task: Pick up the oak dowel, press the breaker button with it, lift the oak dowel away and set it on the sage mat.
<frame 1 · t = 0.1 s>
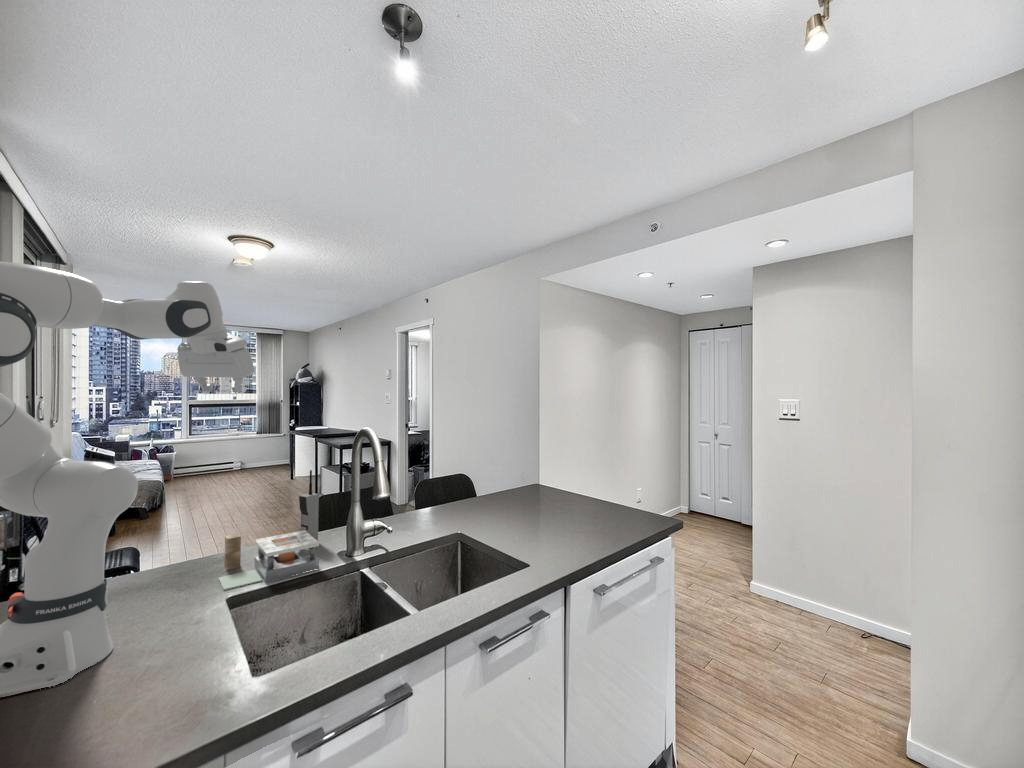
hand: (222, 391, 125), 52 cm above the counter, tool tilted 20°, fingers open, 8 cm apart
breaker button: (286, 552, 133), point 5 cm above the counter, slide at 0.0 cm
grey box with top: (286, 568, 133), on the counter
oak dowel: (232, 566, 133), on the counter
vintage mobile phone: (308, 544, 153), on the counter
sage mat: (240, 580, 124), on the counter
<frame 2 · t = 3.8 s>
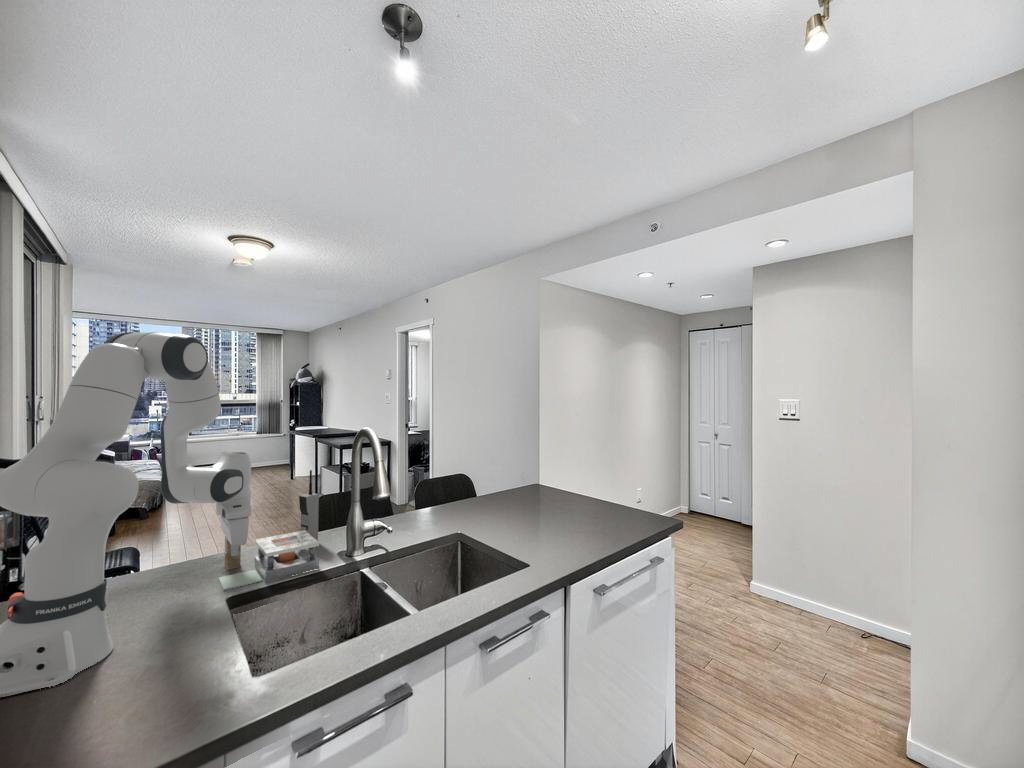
hand: (232, 552, 133), 4 cm above the counter, tool pointing down, fingers closed on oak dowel, 3 cm apart
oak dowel: (232, 566, 133), on the counter, touching gripper
everything else where it was.
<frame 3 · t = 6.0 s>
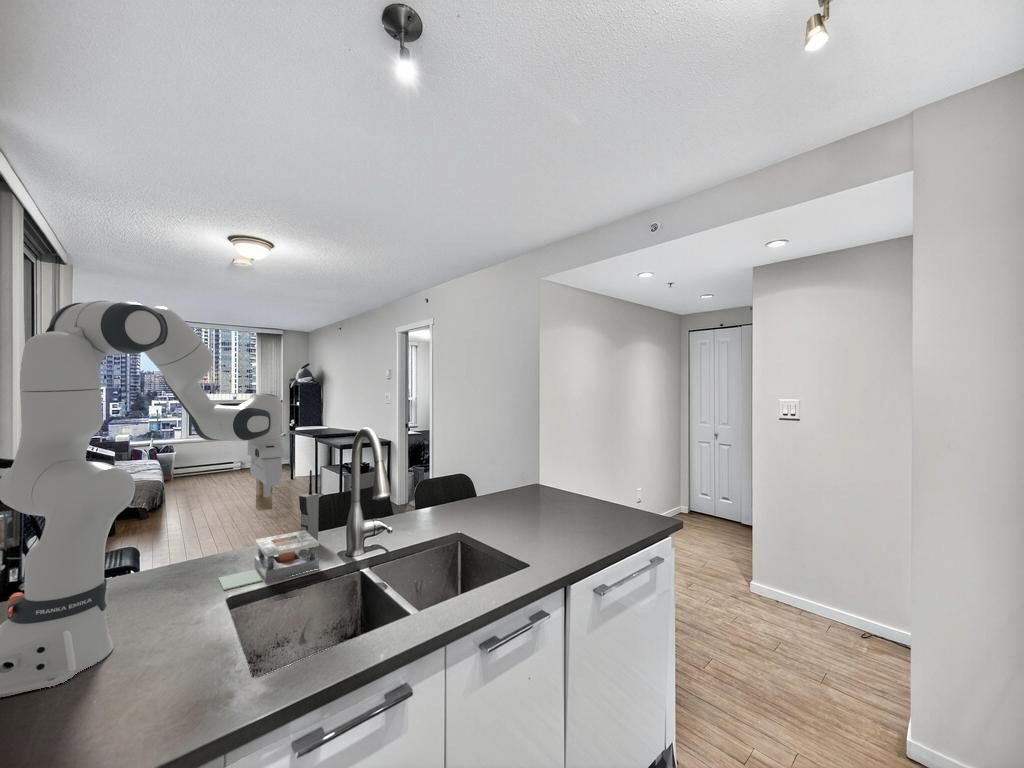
hand: (264, 494, 133), 21 cm above the counter, tool pointing down, fingers closed on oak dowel, 3 cm apart
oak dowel: (264, 508, 133), point 17 cm above the counter, touching gripper
everything else where it was.
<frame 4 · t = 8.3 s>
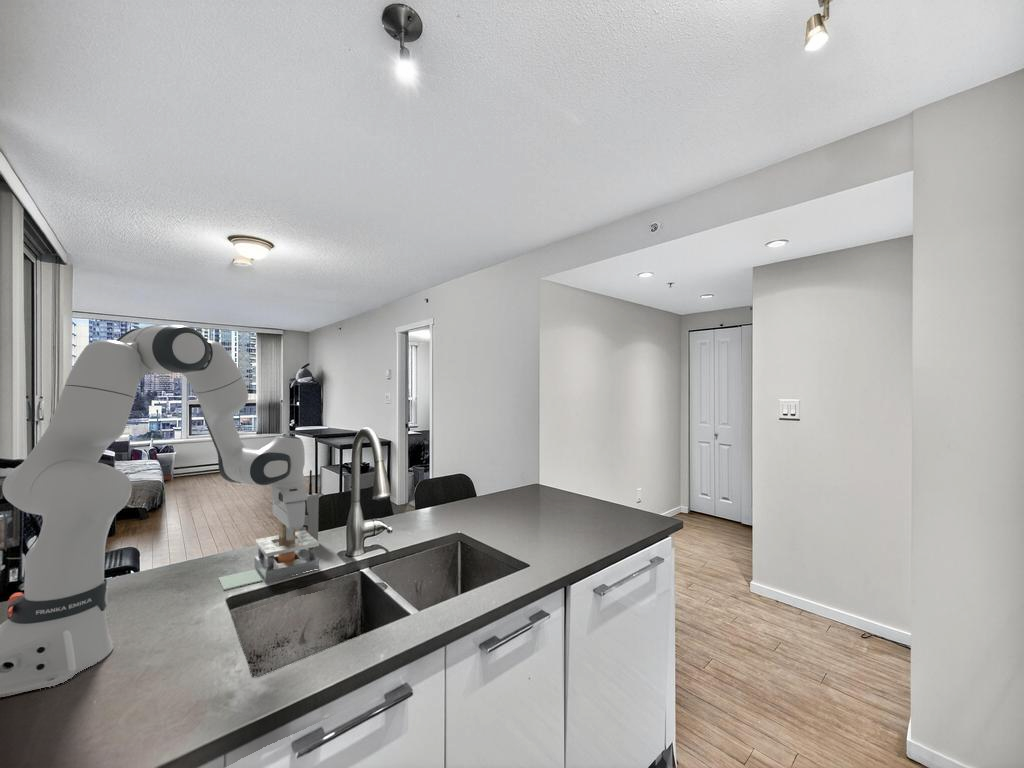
hand: (286, 537, 133), 9 cm above the counter, tool pointing down, fingers closed on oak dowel, 3 cm apart
breaker button: (286, 557, 133), point 3 cm above the counter, slide at 1.4 cm
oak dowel: (286, 550, 133), point 5 cm above the counter, touching gripper
everything else where it was.
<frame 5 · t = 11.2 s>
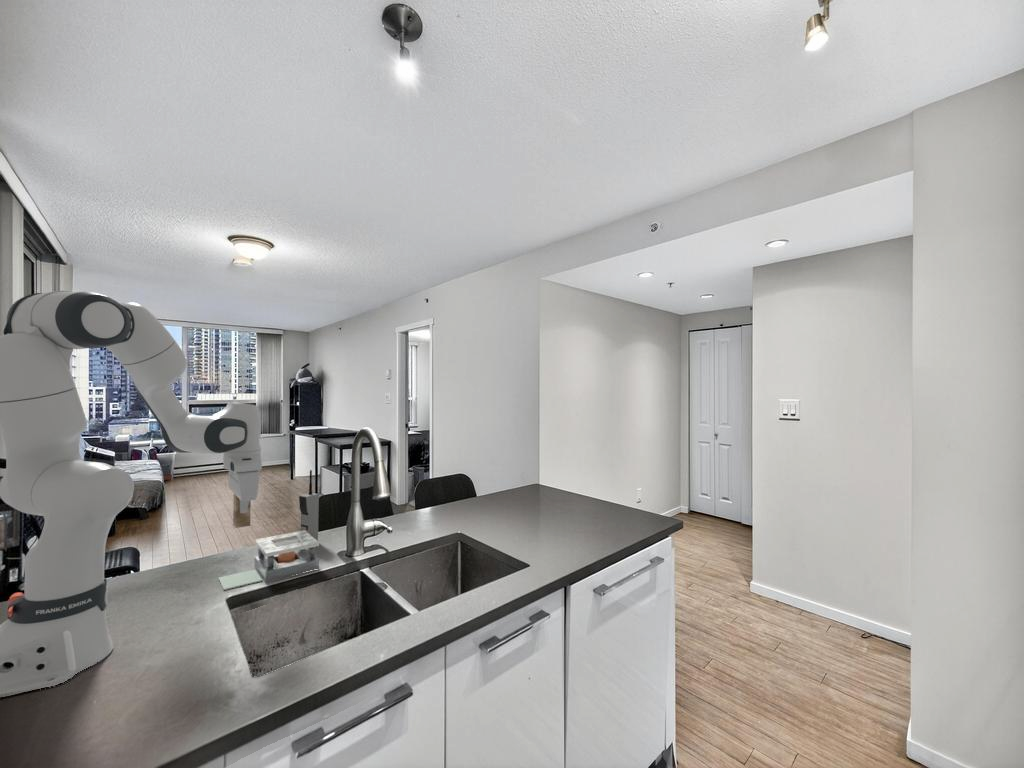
hand: (241, 510, 124), 19 cm above the counter, tool pointing down, fingers closed on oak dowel, 3 cm apart
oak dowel: (241, 525, 124), point 15 cm above the counter, touching gripper
everything else where it was.
when the fingers open (5 cm above the counter, at t = 13.4 s): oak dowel stays where it is, resting on sage mat.
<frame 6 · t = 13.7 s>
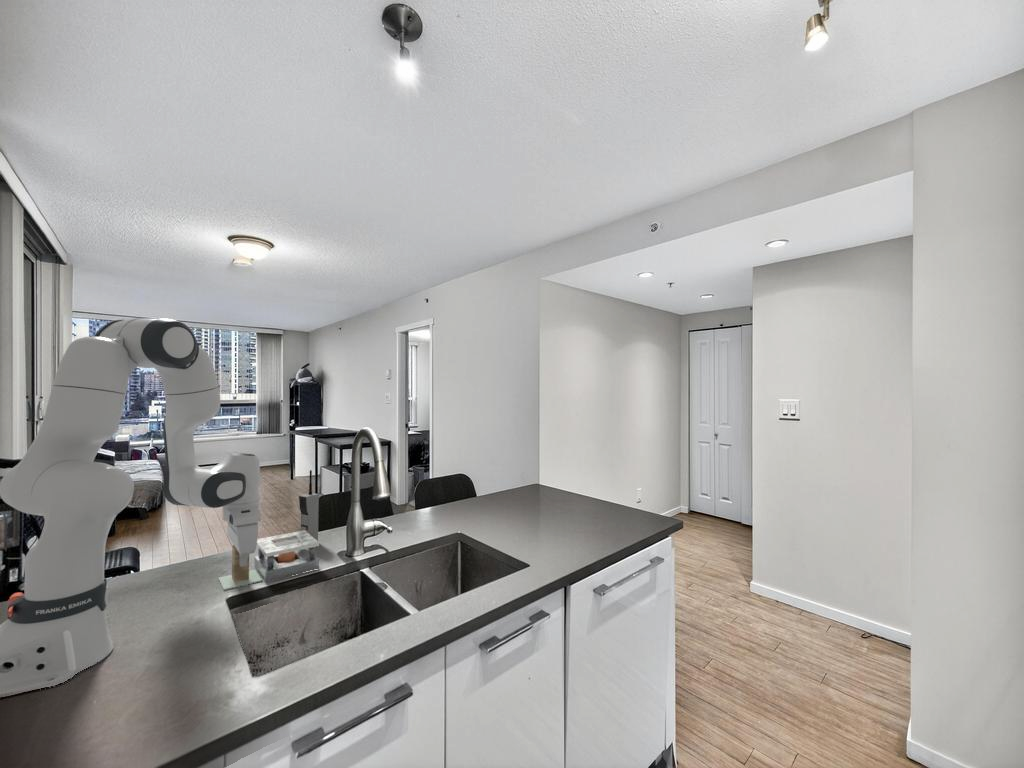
hand: (240, 561, 124), 5 cm above the counter, tool pointing down, fingers open, 6 cm apart
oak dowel: (240, 578, 124), resting on sage mat
everything else where it was.
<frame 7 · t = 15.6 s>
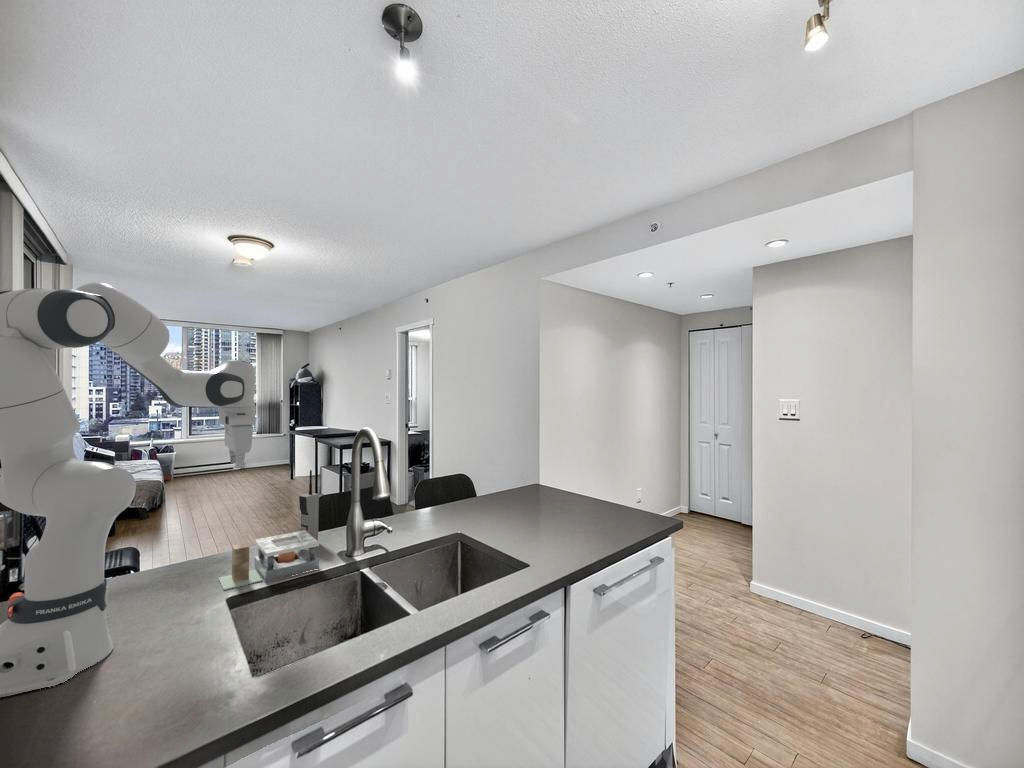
hand: (236, 465, 129), 31 cm above the counter, tool pointing down, fingers open, 8 cm apart
nothing on the counter moved.
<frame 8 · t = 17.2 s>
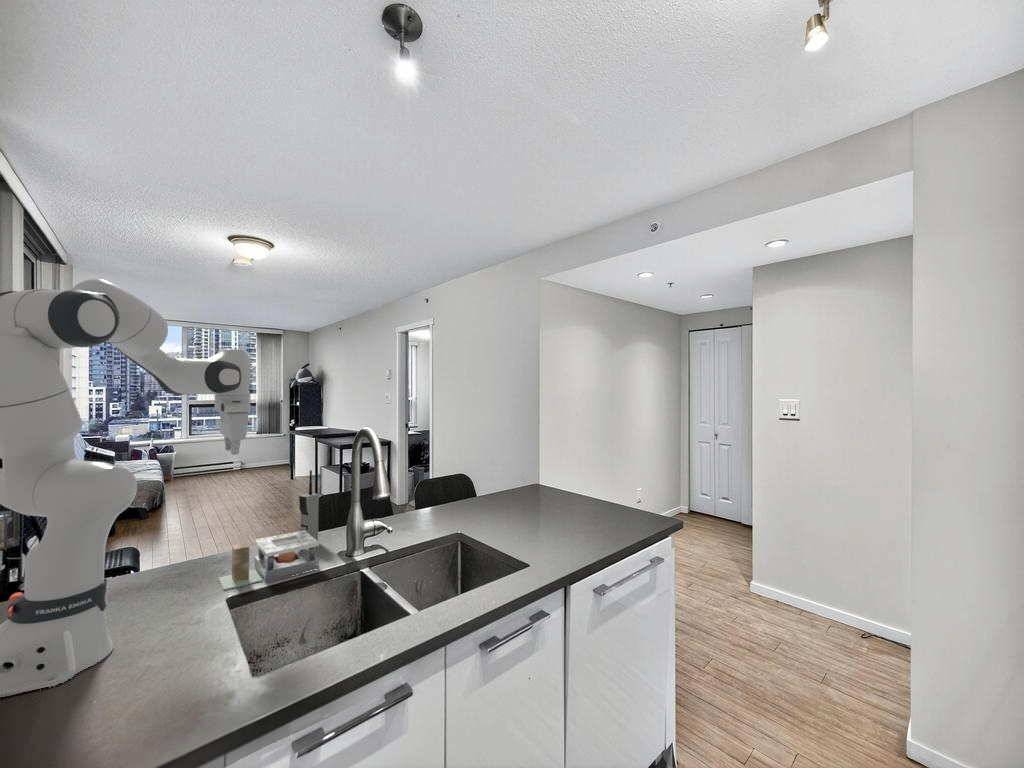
hand: (231, 452, 131), 34 cm above the counter, tool pointing down, fingers open, 8 cm apart
nothing on the counter moved.
at the end: breaker button slide at 1.5 cm; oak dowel inside the target area on the sage mat (0.0 cm from its centre), point 0.4 cm above the sage mat's base; the gripper is holding nothing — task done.
